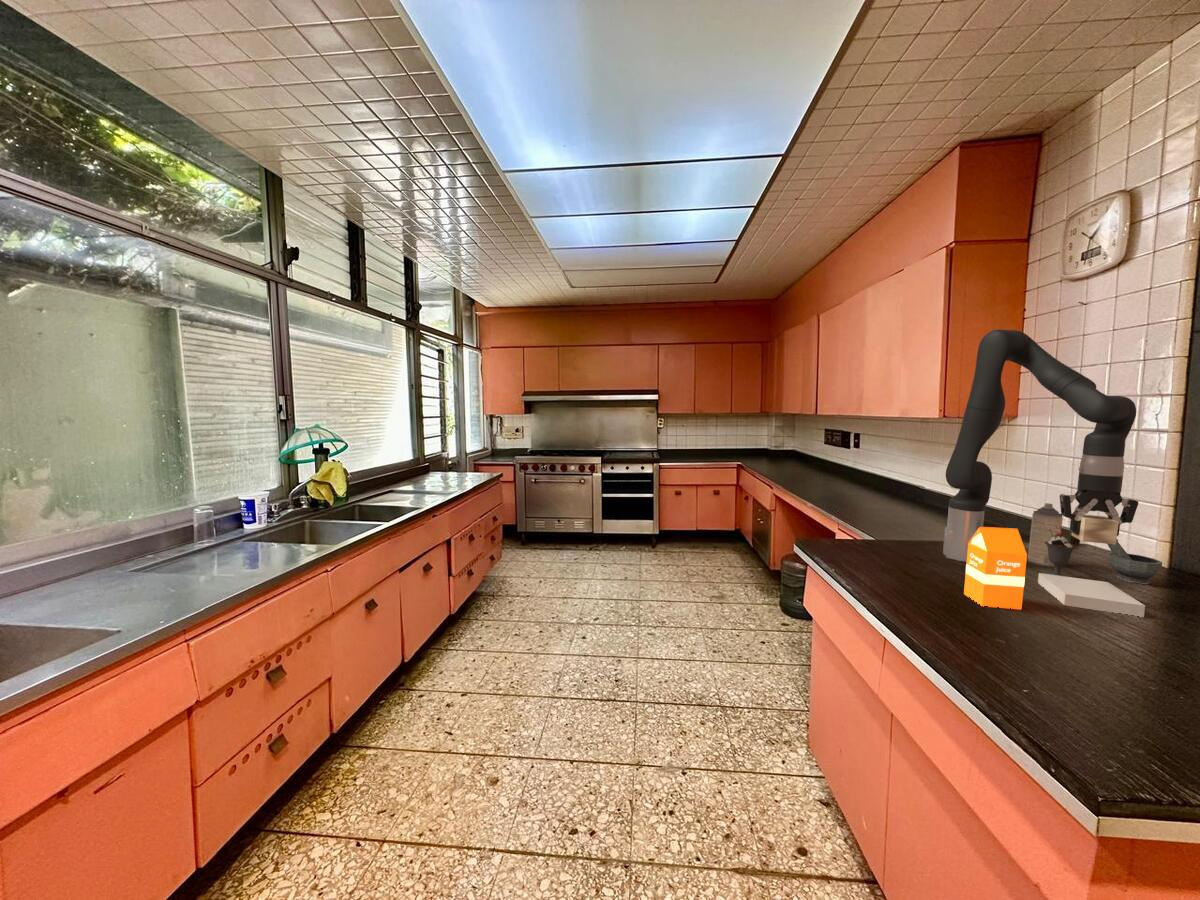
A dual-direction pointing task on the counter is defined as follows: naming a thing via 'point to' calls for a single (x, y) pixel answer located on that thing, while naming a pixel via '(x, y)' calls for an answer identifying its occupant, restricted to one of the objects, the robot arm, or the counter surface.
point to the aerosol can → (1043, 534)
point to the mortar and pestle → (1132, 564)
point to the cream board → (1090, 594)
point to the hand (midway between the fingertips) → (1093, 535)
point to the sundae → (1059, 552)
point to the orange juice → (996, 568)
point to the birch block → (1098, 529)
